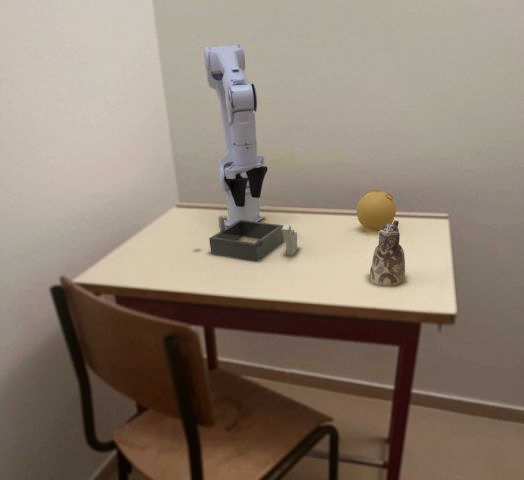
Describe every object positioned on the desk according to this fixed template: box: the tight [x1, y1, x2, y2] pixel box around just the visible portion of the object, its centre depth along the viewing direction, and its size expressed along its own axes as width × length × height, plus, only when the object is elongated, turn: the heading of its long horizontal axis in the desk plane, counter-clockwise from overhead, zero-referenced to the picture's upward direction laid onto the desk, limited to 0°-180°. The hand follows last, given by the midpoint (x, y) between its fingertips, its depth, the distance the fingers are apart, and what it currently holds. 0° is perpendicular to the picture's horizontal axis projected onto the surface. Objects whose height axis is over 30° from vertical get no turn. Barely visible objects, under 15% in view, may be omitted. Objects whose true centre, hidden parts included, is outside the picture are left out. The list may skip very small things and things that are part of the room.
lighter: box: [282, 224, 298, 256], centre depth 121 cm, size 7×2×8 cm, turn 162°
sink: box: [208, 215, 284, 262], centre depth 127 cm, size 14×15×7 cm
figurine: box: [369, 219, 406, 287], centre depth 106 cm, size 7×7×12 cm
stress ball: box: [356, 189, 397, 231], centre depth 132 cm, size 10×10×10 cm
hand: (248, 201), depth 126 cm, fingers open, 7 cm apart
